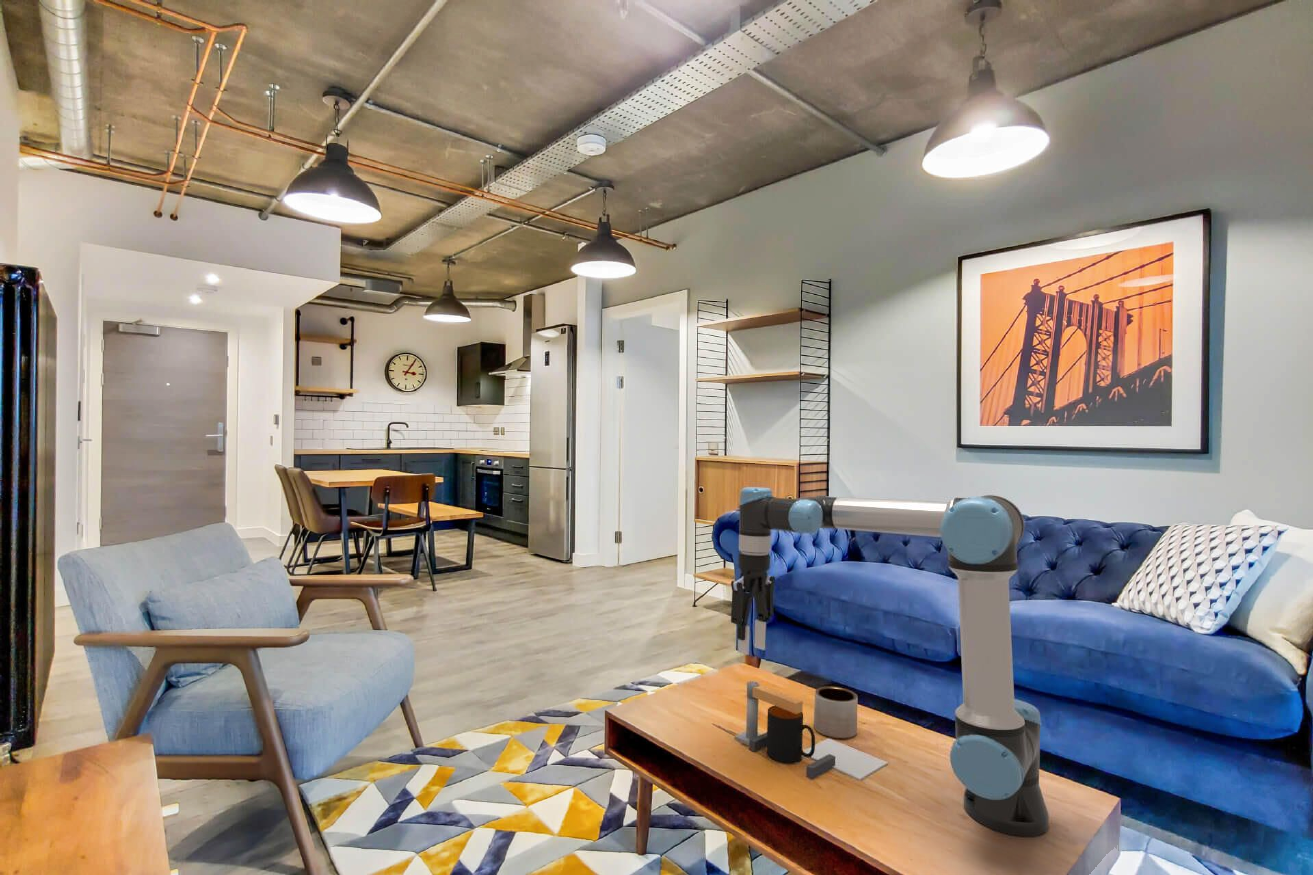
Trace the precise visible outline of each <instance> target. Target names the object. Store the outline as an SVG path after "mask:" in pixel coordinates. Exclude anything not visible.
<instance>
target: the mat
mask: <svg viewBox="0 0 1313 875" xmlns="http://www.w3.org/2000/svg"><path fill="white" fill-rule="evenodd" d="M802 750H803V752H804V753H806V754H809V753H810V751H811V746H810V747H808V748H805V749H802ZM828 754H831V755H833V756H835V766H833V770H836V771H838V772H839V773H842V774H845V775H847V776H849V777H851V778H852V779H855V780H858V781H862V780H863V779H866V778H867V777H869V776H871V775H873V773H875V772H877V771H878V770H880V769H883V768H884V767H885V766H887V765H888V764H889V762H887V761H886V760H882V759H880V758H879V757H875V756H873V755H871V754H868V753H866V752H864V751H860V750H859V749H856V748H853V747H851V746H848V745H847V744H844V743H842V742H839V741H837V740H834V739H833V738H830V737H828V738H826V739H824V740H822V741H820V742H818V743H815V751H814V754H813V755H812V756H811V757H807V758H809V759H811V760H814V762H815V761H817V760H819V759H821V758H823V757H825V756H826V755H828Z"/></svg>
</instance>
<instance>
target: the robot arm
mask: <svg viewBox="0 0 1313 875" xmlns="http://www.w3.org/2000/svg"><path fill="white" fill-rule="evenodd" d="M739 495H740V496H739V504H738V507H739V511H738V512H739V513H738V514H739V516H738V517H739V529H738V550H739V551H740V552H739V553H738V554H737V568H738V569H739V570H740V575H739V577H738V578H739V579H737V580H736V581H735V580H732V581H731V582H730V587H731V592H732V593H731V612H730V613H731V614H730V623H731V624H735V625H736V626H737V629H736V630H737V632H736V633H737V634H736V637H737V653H739V654H742V655H746V656H748V655H750V628H751V627H750V626H749V625H748V621H749V616H750V612H751V608H752V601H753V598H754V604H755V610H756V618H757V619H755V620H754V648H755V649H759V650H761V651H765V650H766V636H767V629H768V628H767V627H768V626H767V625H768V623H771V620H772V618H773V616H774V586H775V581H776V577H775V576H773V575H768V571H769V570H770V569H771V555H770V554H769V553H770V552H771V551H772V550H771V549H772V548H771V547H772V545H771V544H772V543H771V541H772V540H771V539H772V538H771V537H772V531H773V530H774V531H782V532H783V531H784V532H790V533H797V534H800V535H803V534H810V535H813V534H816V533H818V531H819V529H832V530H836V529H837V530H848V531H849V530H850V531H862V532H871V533H872V532H875V533H886V534H896V535H897V534H898V535H911V536H921V537H922V536H923V537H935V538H941V542H942V543H943V545H944V547H945V549H946V550H947V554H948V555H947V556H948V568H949V570H950V571H951V572H952V573H954V574H955V575H956V577H957V586H958V587H957V588H958V605H959V606H958V608H959V609H958V610H959V628H960V631H959V633H960V654H961V656H960V657H961V675H962V676H961V677H962V704H960V705H959V706H958V707H957V708H955V712H954V713H955V714H954V716H955V719H954V720H955V741H954V742H953V743H952V745H951V747H950V748H951V750H950V754H949V761H950V766H951V769H952V771H953V773H954V775H955V776H956V778H957V780H958V781H959V782H961V784H962V785H963V786H964V787H965V790H964V792H963V807H964V810H965V812H966V813H967V814H968V815H969V817H971V818H973V820H975V821H976V822H977V823H980V824H981V825H982V826H985V827H987V828H990V829H991V830H995V831H997V832H1000V833H1003V834H1006V835H1007V834H1008V835H1012V836H1016V835H1017V837H1037V836H1041V835H1043V834H1045V833H1046V832H1047V831H1048V830H1047V829H1049V823H1050V822H1049V818H1050V815H1049V812H1048V809H1047V806H1046V803H1045V802H1046V801H1045V800H1044V797H1043V796H1044V795H1043V793H1042V790H1041V787H1040V757H1041V755H1040V753H1041V744H1040V742H1041V726H1042V722H1041V712H1040V711H1039V709H1038V708H1037V707H1035V706H1034V705H1032V704H1030V703H1028V702H1026V701H1023V700H1019V699H1016V698H1015V691H1014V690H1015V689H1014V688H1015V686H1014V671H1013V670H1014V667H1013V665H1014V663H1013V647H1012V645H1013V644H1012V626H1011V625H1012V623H1011V605H1010V601H1011V600H1010V586H1009V585H1010V582H1009V580H1010V578H1012V576H1014V575H1015V574H1016V573H1017V572H1018V553H1017V552H1018V551H1017V545H1018V544H1019V543H1020V542H1021V540H1022V538H1023V536H1024V535H1025V534H1024V533H1025V528H1026V525H1025V520H1024V516H1023V514H1022V512H1021V510H1020V509H1019V508H1018V507H1017V506H1016V505H1015V503H1013V502H1012V501H1010V500H1008V499H1007V498H1005V497H1002V496H998V495H993V494H991V495H990V494H988V495H987V494H986V495H982V496H973V497H953V498H952V499H951V500H950V501H929V500H927V501H926V500H910V499H909V500H907V499H906V500H905V499H887V498H886V499H885V498H861V497H835V496H827V495H816V496H811V497H810V496H809V497H798V498H789V497H788V498H787V497H786V498H785V497H775V496H773V490H772V489H771V488H768V487H761V486H747V487H743V488H742V489H741V490H740V494H739ZM1045 831H1046V832H1045ZM1044 832H1045V833H1044ZM1042 833H1043V834H1042ZM1036 835H1037V836H1036Z"/></svg>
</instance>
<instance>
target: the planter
mask: <svg viewBox="0 0 1313 875" xmlns="http://www.w3.org/2000/svg"><path fill="white" fill-rule="evenodd" d="M813 728H814V730H816V732H818V733H819V734H820V735H822V736H824V737H828V738H830V739H836V740H845V739H851V738H853V737H854V736H856V735H857V733H858V694H856V693H855V692H854V691H853V690H850V689H848V688H843V687H839V686H822V687H818V688H816V689H815V691H814V711H813Z"/></svg>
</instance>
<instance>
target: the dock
mask: <svg viewBox="0 0 1313 875" xmlns="http://www.w3.org/2000/svg"><path fill="white" fill-rule="evenodd" d="M745 725H746V727H745V728H746V730H745V731H743V732H741V733H738V734H736V735H734V740H736V741H737V742H740V743H742V744H744V745H747V746H748V750H749V751H751V752H754V753H755V752H758V751H760V750H762V749H764V748H765V749H766V748H767V731H766V732H764V733H762V734H761V733H760V732H758V728H759V726H758V725H759V699H757V698H750V697H748V696H747V695H746V724H745ZM833 766H835V756H833V755H831V754H828V755H826V756H825V757H823V758H821V759H819V760H817V761H815V760H814V761H813V762H811V763H809V764H807V765H805V767H806V768H805V770H806V771H805V777H806V778H808V779H810V780H814V779H816V778H818V777H820V776H822V775H823V774H825V773H827V772H829V771H831V770H832V769H833ZM833 770H834V769H833Z"/></svg>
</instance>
